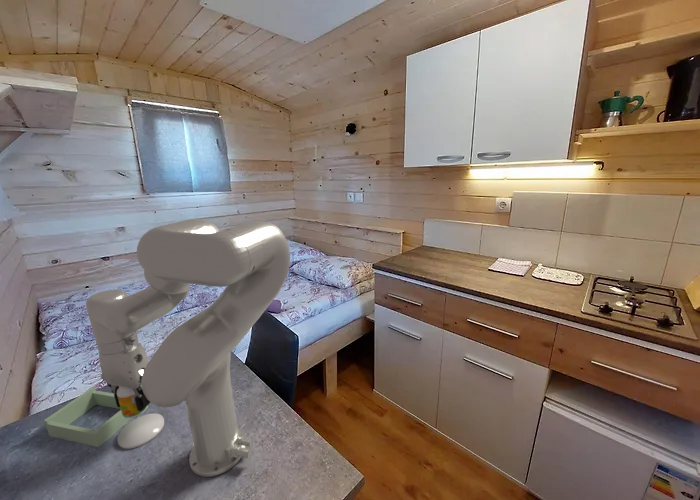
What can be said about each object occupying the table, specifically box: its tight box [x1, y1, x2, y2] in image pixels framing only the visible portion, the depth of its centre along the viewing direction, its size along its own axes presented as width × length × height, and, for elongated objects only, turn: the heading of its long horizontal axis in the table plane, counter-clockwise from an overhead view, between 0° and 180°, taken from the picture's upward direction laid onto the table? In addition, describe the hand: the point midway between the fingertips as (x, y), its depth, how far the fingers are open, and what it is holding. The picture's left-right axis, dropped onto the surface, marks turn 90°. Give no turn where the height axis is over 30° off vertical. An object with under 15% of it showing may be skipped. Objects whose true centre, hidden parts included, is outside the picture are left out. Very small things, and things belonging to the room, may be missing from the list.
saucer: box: [117, 413, 165, 450], centre depth 78 cm, size 10×10×1 cm
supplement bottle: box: [117, 385, 149, 419], centre depth 75 cm, size 5×5×10 cm
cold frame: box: [43, 386, 133, 448], centre depth 80 cm, size 16×12×5 cm
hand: (134, 404), depth 76 cm, fingers closed on supplement bottle, 5 cm apart
